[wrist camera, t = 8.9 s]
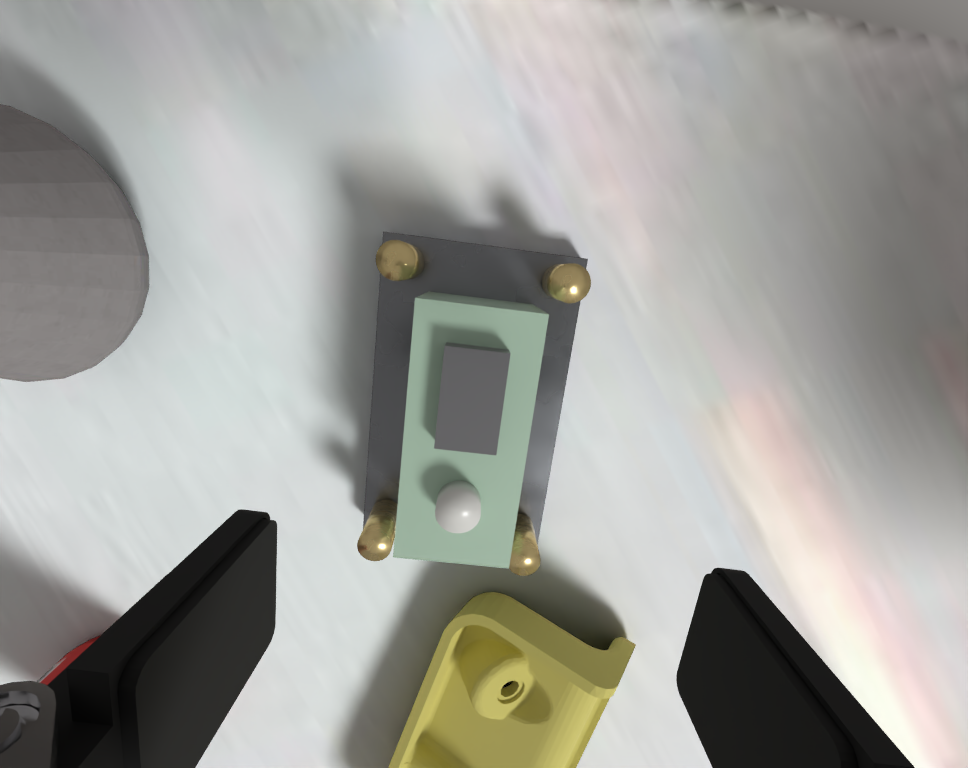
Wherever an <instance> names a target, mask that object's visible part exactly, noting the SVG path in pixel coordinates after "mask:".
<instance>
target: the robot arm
mask: <svg viewBox="0 0 968 768" xmlns="http://www.w3.org/2000/svg"><path fill="white" fill-rule="evenodd" d="M276 558H277V523H276V521H274V520H270V516H269V514H268V513H267V512H259V511H250V510H238V511H236V512H235V513H234V514H233V515H232V516H231V517H230V518H228V519H227V520H226V521H225V522H224V523H223V524H222V525H221V526H220V527H219V528H218V529H217V530H215V531H214V532H213V533H212V534H211V535H210V536H209V537H208V538H207V539H206V540H205V541H204V542H202V543H201V544H200V545H199V546H198V547H197V548H196V549H195V550H194V551H193V552H192V553H191V554H189V555H188V556H187V557H186V558H185V559H184V560H183V561H182V562H181V563H180V564H179V565H178V566H176V567H175V568H174V569H173V570H172V571H171V572H170V573H169V574H168V575H166V576H165V577H164V578H163V579H162V580H161V581H160V582H158V583H157V584H156V585H155V586H154V587H153V588H152V589H151V590H150V591H149V592H148V593H147V594H145V595H144V596H143V597H142V598H141V599H140V600H139V601H138V602H137V603H136V604H135V605H134V606H132V607H131V608H130V609H129V610H128V611H127V612H126V613H125V614H124V615H123V616H122V617H120V618H119V619H118V620H117V621H116V622H115V623H114V624H113V625H112V626H111V627H110V628H109V629H107V630H106V631H105V632H104V633H103V634H102V635H101V636H100V637H99V638H98V639H97V640H96V641H94V642H93V643H92V644H91V645H90V646H89V647H88V648H87V649H86V650H85V651H84V652H82V653H81V654H80V655H79V656H78V657H77V658H76V659H75V660H74V661H73V662H72V663H71V664H69V665H68V666H67V667H66V668H65V669H64V670H63V671H62V672H61V673H60V674H59V675H58V676H56V677H55V678H54V679H53V680H52V681H51V682H50V683H49V684H48V685H46V684H43V683H38V682H33V681H24V682H11V683H7V684H3V685H0V768H195V767H196V765H197V764H198V762H199V760H200V759H201V757H202V755H203V754H204V752H205V750H206V749H207V747H208V745H209V744H210V742H211V740H212V739H213V737H214V735H215V734H216V732H217V730H218V729H219V727H220V725H221V724H222V722H223V720H224V719H225V717H226V716H227V714H228V712H229V711H230V709H231V707H232V706H233V704H234V702H235V701H236V699H237V697H238V696H239V694H240V692H241V691H242V689H243V687H244V686H245V684H246V682H247V681H248V679H249V677H250V676H251V674H252V672H253V671H254V669H255V667H256V666H257V664H258V662H259V661H260V659H261V657H262V656H263V654H264V652H265V651H266V649H267V648H268V646H269V644H270V642H271V640H272V637H273V634H274V630H275V614H276ZM677 687H678V691H679V694H680V696H681V698H682V701H683V703H684V705H685V707H686V709H687V712H688V714H689V716H690V718H691V721H692V723H693V725H694V727H695V730H696V732H697V734H698V736H699V738H700V741H701V743H702V745H703V747H704V750H705V752H706V754H707V756H708V758H709V761H710V763H711V765H712V767H713V768H914V766H913V765H912V764H911V763H910V762H909V761H908V759H907V758H906V757H905V756H904V755H903V754H902V752H901V751H900V750H899V749H898V748H897V747H896V745H895V744H894V743H893V742H892V741H891V740H890V738H889V737H888V736H887V735H886V734H885V733H884V731H883V730H882V729H881V728H880V727H879V726H878V724H877V723H876V722H875V721H874V720H873V719H872V717H871V716H870V715H869V714H868V713H867V712H866V710H865V709H864V708H863V707H862V706H861V705H860V703H859V702H858V701H857V700H856V699H855V698H854V696H853V695H852V694H851V693H850V692H849V691H848V690H847V688H846V687H845V686H844V685H843V684H842V683H841V681H840V680H839V679H838V678H837V677H836V676H835V674H834V673H833V672H832V671H831V670H830V669H829V667H828V666H827V665H826V664H825V663H824V662H823V660H822V659H821V658H820V657H819V656H818V655H817V653H816V652H815V651H814V650H813V649H812V648H811V646H810V645H809V644H808V643H807V642H806V641H805V639H804V638H803V637H802V636H801V635H800V634H799V632H798V631H797V630H796V629H795V628H794V627H793V625H792V624H791V623H790V622H789V621H788V620H787V619H786V617H785V616H784V615H783V614H782V613H781V612H780V610H779V609H778V608H777V607H776V606H775V605H774V603H773V602H772V601H771V600H770V599H769V598H768V596H767V595H766V594H765V593H764V592H763V591H762V589H761V588H760V587H759V586H758V585H757V584H756V582H755V581H754V580H753V579H752V578H751V577H750V575H749V574H747V573H746V572H745V571H741V570H732V569H724V568H715V569H714V570H713V571H712V573H711V574H706V575H705V577H704V579H703V582H702V586H701V589H700V593H699V596H698V600H697V603H696V607H695V610H694V614H693V618H692V621H691V625H690V628H689V632H688V635H687V639H686V642H685V646H684V650H683V653H682V657H681V660H680V664H679V667H678V671H677Z"/></svg>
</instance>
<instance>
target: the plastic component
mask: <svg viewBox="0 0 968 768" xmlns="http://www.w3.org/2000/svg"><path fill="white" fill-rule="evenodd" d="M635 646H636V645H635V644H634V643H632V642H630V641H629V640H627V639H626V638H623V637H618V638H615V639H614V640H613V641H612V643H611V645H610V646H609V648H608V650H599V649H596V648H593V647H591V646H589V645H587V644H586V643H584V642H582V641H581V640H579V639H578V638H576V637H574V636H573V635H571V634H570V633H568V632H566V631H565V630H563V629H562V628H560V627H558V626H557V625H555V624H554V623H552V622H550V621H549V620H547V619H546V618H544V617H542V616H541V615H539V614H537V613H536V612H534V611H533V610H531V609H529V608H528V607H526V606H525V605H523V604H521V603H520V602H518V601H517V600H515V599H513V598H512V597H510V596H507V595H505V594H501V593H497V592H487V593H482V594H479V595H477V596H475V597H473V598H472V599H471V600H470V601H469V602H468V603H467V604H466V605H465V606H464V607H463V608H462V609H461V611H460V612H459V613H458V614H457V615H456V616H455V617H454V618H453V620H452V621H451V622H450V623H449V624H448V626H447V627H446V628H445V630H444V631H443V634H442V636H441V639H440V641H439V643H438V646H437V648H436V651H435V653H434V656H433V658H432V661H431V663H430V666H429V668H428V671H427V673H426V676H425V678H424V681H423V683H422V685H421V688H420V690H419V693H418V695H417V698H416V700H415V703H414V705H413V708H412V710H411V713H410V715H409V718H408V720H407V722H406V725H405V727H404V730H403V732H402V735H401V737H400V740H399V742H398V745H397V747H396V750H395V752H394V755H393V757H392V760H391V762H390V764H389V767H388V768H576V766H577V764H578V762H579V760H580V758H581V756H582V754H583V752H584V750H585V748H586V746H587V744H588V742H589V740H590V737H591V735H592V733H593V731H594V729H595V727H596V725H597V723H598V721H599V719H600V717H601V715H602V713H603V711H604V709H605V707H606V705H607V702H608V700H609V698H610V697H611V696H613V694H614V692H615V690H616V688H617V686H618V684H619V682H620V680H621V677H622V675H623V673H624V671H625V668H626V666H627V664H628V662H629V659H630V657H631V655H632V653H633V650H634V648H635ZM510 681H513V682H512V684H511V685H509V686H508V687H506V688H502V687H503V686H504V685H505V684H506V683H507V682H510Z"/></svg>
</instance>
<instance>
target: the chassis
mask: <svg viewBox="0 0 968 768" xmlns="http://www.w3.org/2000/svg"><path fill="white" fill-rule="evenodd" d="M587 261H588V259H584V258H577V257H569V256H562V255H554V254H547V253H539V252H532V251H524V250H517V249H509V248H502V247H494V246H487V245H479V244H472V243H464V242H457V241H449V240H442V239H434V238H427V237H419V236H412V235H404V234H397V233H389V232H383V243H382V245H381V246H380V248H379V249H378V251H377V254H376V264H377V268H378V270H379V271H380V287H379V302H378V317H377V331H376V346H375V361H374V376H373V391H372V405H371V420H370V435H369V450H368V464H367V479H366V494H365V509H364V524H363V531H362V533H361V536H360V538H359V540H358V544H357V547H358V551H359V553H360V554H361V555H362V556H363V557H364V558H365V559H368V560H371V561H380V560H383V559H384V558H386V557H387V556H388V555H389V553H390V551H391V548H392V545H393V541H394V538H395V529H396V518H397V506H398V494H399V482H400V470H401V458H402V446H403V435H404V423H405V411H406V399H407V387H408V375H409V363H410V351H411V340H412V328H413V316H414V304H415V298H416V297H418V296H420V295H422V294H425V293H427V292H429V291H430V292H438V293H446V294H454V295H462V296H470V297H478V298H486V299H494V300H502V301H510V302H518V303H526V304H533V305H535V306H536V307H538V308H540V309H541V310H543V311H544V312H546V313H548V314H549V318H548V325H547V331H546V337H545V344H544V350H543V356H542V362H541V369H540V375H539V381H538V388H537V394H536V400H535V407H534V413H533V419H532V426H531V432H530V438H529V445H528V451H527V457H526V464H525V470H524V476H523V482H522V489H521V495H520V501H519V508H518V514H517V520H516V527H515V533H514V539H513V546H512V552H511V558H510V565H509V569H510V570H511V571H512V572H513V573H514V574H517V575H520V576H527V575H530V574H532V573H534V572H535V571H536V570H537V569H538V568H539V566H540V555H539V551H538V546H537V543H538V537H539V532H540V526H541V520H542V515H543V509H544V504H545V498H546V492H547V487H548V481H549V475H550V470H551V464H552V458H553V453H554V447H555V441H556V436H557V430H558V424H559V419H560V413H561V407H562V402H563V396H564V391H565V385H566V379H567V374H568V368H569V362H570V357H571V351H572V345H573V340H574V334H575V328H576V323H577V317H578V311H579V306H580V300H582V299H583V298H584V297H585V296H586V295H587V294H588V292H589V289H590V286H591V279H590V275H589V273H588V271H587V270H586V266H587Z"/></svg>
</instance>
